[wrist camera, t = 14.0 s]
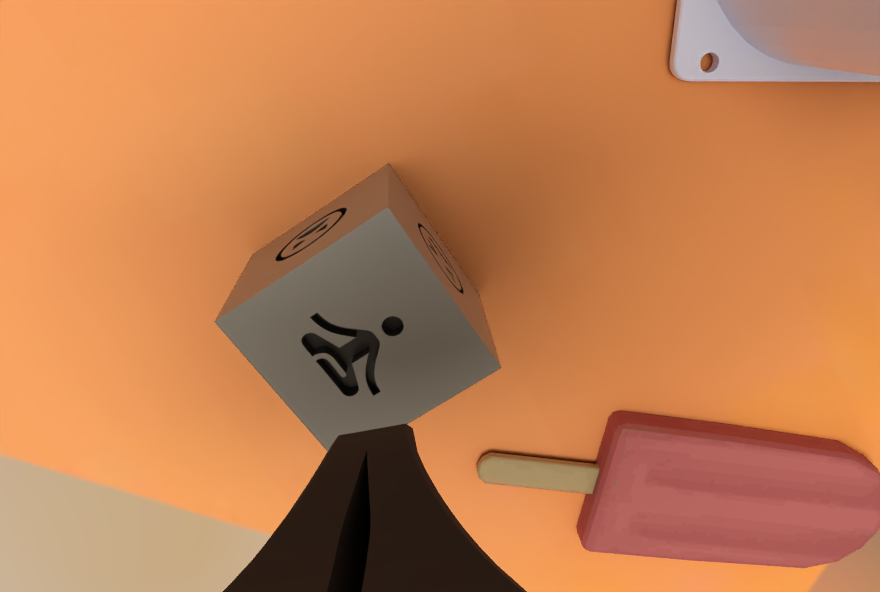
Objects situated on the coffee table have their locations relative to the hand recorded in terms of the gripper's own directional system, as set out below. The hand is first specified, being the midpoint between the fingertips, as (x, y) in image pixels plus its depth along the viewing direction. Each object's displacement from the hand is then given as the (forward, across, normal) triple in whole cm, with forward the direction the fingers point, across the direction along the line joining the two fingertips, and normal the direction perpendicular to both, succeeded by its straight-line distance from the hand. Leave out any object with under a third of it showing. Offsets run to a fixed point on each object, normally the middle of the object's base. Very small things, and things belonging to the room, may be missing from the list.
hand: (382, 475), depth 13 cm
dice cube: (+10, 0, 0) cm, 10 cm away
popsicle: (+11, -9, +10) cm, 17 cm away
